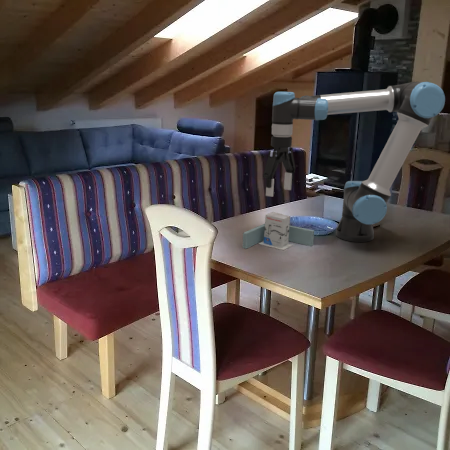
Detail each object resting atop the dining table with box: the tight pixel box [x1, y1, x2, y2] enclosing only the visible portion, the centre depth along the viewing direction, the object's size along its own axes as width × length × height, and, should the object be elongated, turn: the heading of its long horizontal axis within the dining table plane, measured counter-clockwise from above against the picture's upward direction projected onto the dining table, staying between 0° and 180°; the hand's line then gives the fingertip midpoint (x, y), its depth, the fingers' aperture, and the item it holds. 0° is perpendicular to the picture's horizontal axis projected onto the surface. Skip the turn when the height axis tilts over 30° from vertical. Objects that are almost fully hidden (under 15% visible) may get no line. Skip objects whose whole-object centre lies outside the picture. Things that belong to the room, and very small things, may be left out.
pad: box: [258, 240, 293, 251], centre depth 195 cm, size 11×7×1 cm, turn 54°
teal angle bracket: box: [242, 223, 315, 249], centre depth 193 cm, size 20×20×6 cm
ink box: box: [263, 211, 291, 248], centre depth 194 cm, size 9×5×12 cm, turn 52°
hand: (278, 192), depth 190 cm, fingers open, 13 cm apart
